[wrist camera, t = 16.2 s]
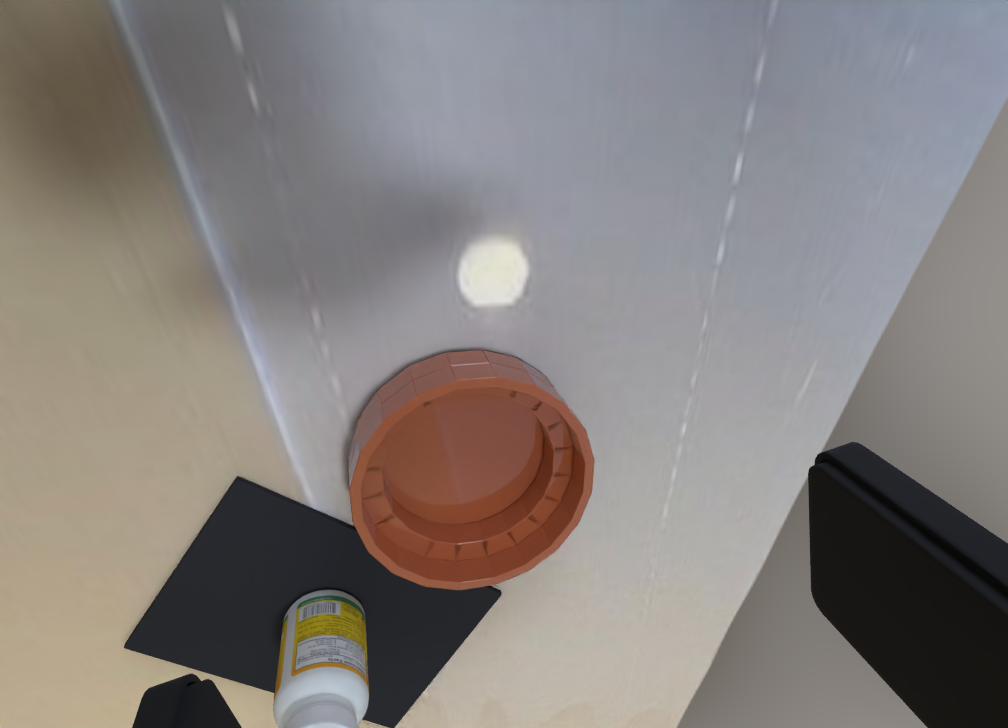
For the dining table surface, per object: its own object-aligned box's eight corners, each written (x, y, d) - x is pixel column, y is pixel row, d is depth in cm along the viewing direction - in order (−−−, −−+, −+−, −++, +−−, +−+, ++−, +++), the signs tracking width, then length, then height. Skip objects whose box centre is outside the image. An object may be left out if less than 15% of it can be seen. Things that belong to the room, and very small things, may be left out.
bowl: (304, 490, 40) (300, 536, 36) (435, 304, 37) (446, 330, 33) (487, 572, 45) (501, 618, 41) (611, 415, 43) (639, 449, 39)
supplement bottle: (322, 573, 42) (317, 698, 33) (382, 611, 44) (392, 738, 35) (264, 626, 42) (245, 762, 34) (326, 661, 45) (323, 797, 36)
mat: (125, 643, 41) (123, 648, 41) (237, 475, 38) (236, 479, 38) (393, 724, 49) (393, 728, 49) (500, 590, 46) (502, 594, 46)
